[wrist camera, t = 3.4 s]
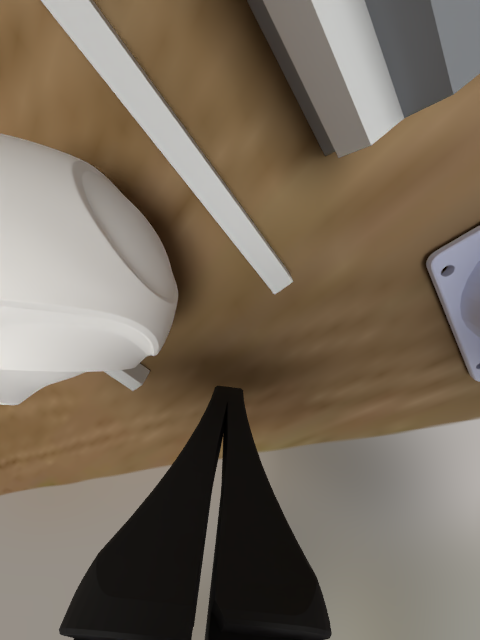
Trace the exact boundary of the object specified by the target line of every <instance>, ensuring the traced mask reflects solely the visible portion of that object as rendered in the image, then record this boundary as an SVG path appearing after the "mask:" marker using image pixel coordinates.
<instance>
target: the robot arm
mask: <svg viewBox="0 0 480 640" xmlns="http://www.w3.org/2000/svg"><path fill="white" fill-rule="evenodd" d="M446 266H448V267H447V269H446V270H445V271H444V272H443V273H441V271H442V269H443V268H445V267H446ZM426 267H427V269H428V272H429V274H430V277H431V279H432V282H433V284H434V287H435V289H436V292H437V294H438V297H439V299H440V302H441V304H442V307H443V309H444V312H445V314H446V317H447V319H448V322H449V324H450V327H451V329H452V332H453V334H454V337H455V339H456V342H457V344H458V347H459V349H460V352H461V354H462V357H463V359H464V362H465V364H466V367H467V369H468V372H469V374H470V376H471V377H472V378H473V379H474V380H476V381H479V382H480V225H479V226H478V227H476V228H474V229H472V230H471V231H469V232H467V233H465V234H464V235H462V236H460V237H459V238H457V239H455V240H453V241H452V242H450V243H448V244H446V245H445V246H443V247H441V248H440V249H438V250H436V251H435V252H433V253H432V254H431V255H430V256H429V257H428V259H427V262H426ZM223 433H224V435H223ZM222 438H223V462H222V486H221V498H220V507H219V517H218V525H217V535H216V545H215V553H214V562H213V572H212V580H211V589H210V598H209V606H208V615H207V624H206V634H205V640H325V639H329V638H330V636H331V628H330V621H329V617H328V613H327V609H326V605H325V601H324V598H323V595H322V592H321V589H320V586H319V583H318V580H317V577H316V575H315V573H314V572H313V570H312V568H311V566H310V564H309V562H308V561H307V559H306V557H305V555H304V553H303V551H302V549H301V548H300V546H299V544H298V542H297V540H296V538H295V536H294V534H293V532H292V530H291V528H290V526H289V524H288V523H287V520H286V518H285V516H284V514H283V512H282V510H281V508H280V505H279V503H278V501H277V499H276V497H275V495H274V493H273V490H272V488H271V486H270V483H269V481H268V478H267V476H266V474H265V471H264V469H263V466H262V464H261V461H260V458H259V455H258V452H257V449H256V446H255V443H254V440H253V437H252V433H251V430H250V426H249V423H248V419H247V414H246V410H245V404H244V398H243V390H242V389H241V388H232V387H224V386H216V387H215V389H214V392H213V395H212V398H211V400H210V402H209V404H208V407H207V409H206V411H205V413H204V414H203V416H202V418H201V420H200V422H199V424H198V426H197V427H196V429H195V431H194V432H193V434H192V436H191V437H190V439H189V441H188V442H187V444H186V445H185V447H184V448H183V450H182V451H181V453H180V454H179V456H178V457H177V459H176V460H175V462H174V463H173V464H172V466H171V467H170V469H169V470H168V471H167V473H166V474H165V475H164V477H163V478H162V479H161V481H160V482H159V483H158V485H157V486H156V487H155V488H154V490H153V491H152V492H151V493H150V495H149V496H148V497H147V498H146V499H145V501H144V502H143V503H142V504H141V505H140V507H139V508H138V509H137V510H136V511H135V513H134V514H133V515H132V516H131V518H130V519H129V520H128V521H127V522H126V523H125V524H124V525H123V527H122V528H121V529H120V530H119V531H118V532H117V533H116V534H115V535H114V537H113V538H112V539H111V540H110V541H109V542H108V543H107V544H106V545H105V547H104V548H103V549H102V550H101V551H100V552H99V553H98V555H97V557H96V558H95V560H94V561H93V563H92V564H91V566H90V567H89V569H88V571H87V573H86V574H85V576H84V577H83V579H82V581H81V583H80V585H79V587H78V589H77V590H76V592H75V594H74V597H73V599H72V601H71V603H70V606H69V608H68V610H67V613H66V615H65V617H64V619H63V622H62V624H61V626H60V629H59V631H60V634H61V635H64V636H68V637H73V638H74V640H191V637H192V630H193V627H194V621H195V613H196V605H197V598H198V591H199V583H200V575H201V568H202V561H203V552H204V545H205V538H206V530H207V523H208V516H209V508H210V501H211V493H212V487H213V482H214V477H215V472H216V467H217V462H218V457H219V453H220V448H221V443H222Z"/></svg>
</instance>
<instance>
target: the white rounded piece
mask: <svg viewBox="0 0 480 640" xmlns="http://www.w3.org/2000/svg"><path fill="white" fill-rule="evenodd" d="M177 302H178V289H177V284H176V281H175V278H174V276H173V273H172V269H171V266H170V262H169V259H168V256H167V253H166V251H165V248H164V246H163V244H162V242H161V240H160V238H159V237H158V235H157V233H156V232H155V230H154V229H153V227H152V226H151V224H150V223H149V222H148V220H147V219H146V218H145V216H144V215H143V214H142V213H141V212H140V211H139V210H138V209H137V208H136V207H135V206H134V205H133V204H132V203H131V202H130V201H129V200H128V199H127V198H126V197H125V196H124V195H123V194H122V193H121V192H120V191H119V189H118V188H117V187H116V186H115V185H114V184H113V183H112V182H111V181H110V180H109V179H108V178H107V177H106V176H105V175H104V174H102V173H101V172H100V171H99V170H98V169H96V168H95V167H93V166H92V165H90V164H89V163H87V162H85V161H83V160H81V159H79V158H76V157H74V156H72V155H69V154H67V153H64V152H62V151H59V150H56V149H53V148H50V147H47V146H44V145H41V144H38V143H35V142H31V141H28V140H24V139H21V138H17V137H13V136H9V135H5V134H0V404H1V405H18V404H20V403H21V402H23V401H24V400H25V399H27V398H28V397H29V396H31V395H32V394H34V393H35V392H37V391H38V390H40V389H41V388H43V387H45V386H47V385H50V384H52V383H56V382H59V381H62V380H66V379H69V378H72V377H75V376H77V375H80V374H82V373H84V372H91V371H113V370H125V369H132V368H135V367H136V366H137V365H138V364H139V363H140V362H141V361H142V360H143V359H144V358H145V357H147V356H150V355H152V356H155V355H157V354H158V353H159V351H160V350H161V348H162V347H163V345H164V343H165V341H166V338H167V336H168V334H169V332H170V329H171V326H172V323H173V319H174V316H175V311H176V307H177Z"/></svg>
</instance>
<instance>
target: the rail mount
mask: <svg viewBox="0 0 480 640" xmlns="http://www.w3.org/2000/svg"><path fill="white" fill-rule="evenodd" d="M41 1H42V2H43V4H44V5H45V6H46V8H47V9H48V10H49V11H50V13H51V14H52V15H53V16H54V18H55V19H56V20H57V21H58V23H59V24H60V25H61V26H62V28H63V29H64V30H65V31H66V33H67V34H68V35H69V36H70V38H71V39H72V40H73V41H74V43H75V44H76V45H77V47H78V48H79V49H80V50H81V52H82V53H83V54H84V55H85V57H86V58H87V59H88V60H89V62H90V63H91V64H92V65H93V67H94V68H95V69H96V70H97V72H98V73H99V74H100V75H101V77H102V78H103V79H104V80H105V82H106V83H107V84H108V86H109V87H110V88H111V89H112V91H113V92H114V93H115V94H116V96H117V97H118V98H119V99H120V101H121V102H122V103H123V104H124V106H125V107H126V108H127V109H128V111H129V112H130V113H131V114H132V116H133V117H134V118H135V119H136V121H137V122H138V123H139V125H140V126H141V127H142V128H143V130H144V131H145V132H146V133H147V135H148V136H149V137H150V138H151V140H152V141H153V142H154V143H155V145H156V146H157V147H158V148H159V150H160V151H161V152H162V153H163V155H164V156H165V157H166V159H167V160H168V161H169V162H170V164H171V165H172V166H173V167H174V169H175V170H176V171H177V172H178V174H179V175H180V176H181V177H182V179H183V180H184V181H185V182H186V184H187V185H188V186H189V187H190V189H191V190H192V191H193V192H194V194H195V195H196V196H197V198H198V199H199V200H200V201H201V203H202V204H203V205H204V206H205V208H206V209H207V210H208V211H209V213H210V214H211V215H212V216H213V218H214V219H215V220H216V221H217V223H218V224H219V225H220V226H221V228H222V229H223V230H224V231H225V233H226V234H227V235H228V237H229V238H230V239H231V240H232V242H233V243H234V244H235V245H236V247H237V248H238V249H239V250H240V252H241V253H242V254H243V255H244V257H245V258H246V259H247V260H248V262H249V263H250V264H251V265H252V267H253V268H254V269H255V270H256V272H257V273H258V274H259V276H260V277H261V278H262V279H263V281H264V282H265V283H266V284H267V286H268V287H269V288H270V289H271V291H272V292H273V293H274V294H276V293H278V292H279V291H281V290H282V289H283V288H285V287H286V286H288V285H289V284H291V283H292V282H293V280H292V277H291V275H290V273H289V271H288V270H287V269H286V267H285V266H284V265H283V263H282V262H281V260H280V259H279V258H278V256H277V255H276V253H275V252H274V251H273V249H272V248H271V247H270V245H269V244H268V242H267V241H266V240H265V238H264V237H263V235H262V234H261V233H260V231H259V230H258V228H257V227H256V226H255V224H254V223H253V222H252V220H251V219H250V217H249V216H248V215H247V213H246V212H245V210H244V209H243V208H242V206H241V205H240V204H239V202H238V201H237V199H236V198H235V197H234V195H233V194H232V192H231V191H230V190H229V188H228V187H227V185H226V184H225V183H224V181H223V180H222V179H221V177H220V176H219V174H218V173H217V172H216V170H215V169H214V167H213V166H212V165H211V163H210V162H209V161H208V159H207V158H206V156H205V155H204V154H203V152H202V151H201V149H200V148H199V147H198V145H197V144H196V142H195V141H194V140H193V138H192V137H191V136H190V134H189V133H188V131H187V130H186V129H185V127H184V126H183V124H182V123H181V122H180V120H179V119H178V118H177V116H176V115H175V113H174V112H173V111H172V109H171V108H170V106H169V105H168V104H167V102H166V101H165V99H164V98H163V97H162V95H161V94H160V93H159V91H158V90H157V88H156V87H155V86H154V84H153V83H152V81H151V80H150V79H149V77H148V76H147V75H146V73H145V72H144V70H143V69H142V68H141V66H140V65H139V63H138V62H137V61H136V59H135V58H134V56H133V55H132V54H131V52H130V51H129V50H128V48H127V47H126V45H125V44H124V43H123V41H122V40H121V38H120V37H119V36H118V34H117V33H116V32H115V30H114V29H113V27H112V26H111V25H110V23H109V22H108V20H107V19H106V18H105V16H104V15H103V13H102V12H101V11H100V9H99V8H98V7H97V5H96V4H95V2H94V1H93V0H41ZM247 2H248V4H249V6H250V8H251V10H252V12H253V14H254V16H255V18H256V20H257V22H258V24H259V26H260V28H261V30H262V32H263V34H264V36H265V38H266V40H267V42H268V44H269V46H270V48H271V50H272V52H273V54H274V55H275V57H276V59H277V61H278V63H279V65H280V67H281V69H282V71H283V73H284V75H285V77H286V79H287V81H288V83H289V85H290V87H291V89H292V91H293V93H294V95H295V97H296V99H297V101H298V103H299V105H300V107H301V109H302V111H303V113H304V115H305V117H306V119H307V121H308V123H309V125H310V127H311V129H312V131H313V133H314V135H315V137H316V139H317V141H318V143H319V145H320V147H321V149H322V151H323V153H324V155H325V156H327V155H329V154H331V153H333V152H335V151H336V154H337V156H338V158H340V157H343V156H345V155H348V154H350V153H353V152H355V151H358V150H361V149H363V148H366V147H368V146H371V145H372V144H373V143H375V142H376V141H377V140H378V139H380V138H381V137H382V136H383V135H384V134H386V133H387V132H388V131H389V130H390V129H392V128H393V127H394V126H395V125H397V124H398V123H399V122H400V121H401V120H403V119H404V118H406V117H408V116H410V115H412V114H414V113H416V112H418V111H420V110H422V109H424V108H426V107H428V106H430V105H432V104H434V103H437V102H439V101H441V100H443V99H445V98H447V97H449V96H451V95H453V94H454V93H456V92H457V91H458V90H459V89H461V88H462V87H463V86H465V85H466V84H467V83H468V82H470V81H471V80H472V79H473V78H475V77H476V76H477V75H478V74H480V0H247ZM104 372H106V373H107V374H108V375H110V376H111V377H113V378H114V379H116V380H117V381H119V382H120V383H122V384H123V385H125V386H126V387H128V388H129V389H131V390H132V391H134V390H135V389H137V388H138V387H140V386H141V385H143V383H144V381H145V379H146V378H147V376H148V374H149V372H150V370H148V369H147V368H146V367H144V366H143V365H142V364H140V363H139V364H138V365H137V366H136V367H135V368H132V369H125V370H113V371H104Z"/></svg>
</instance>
